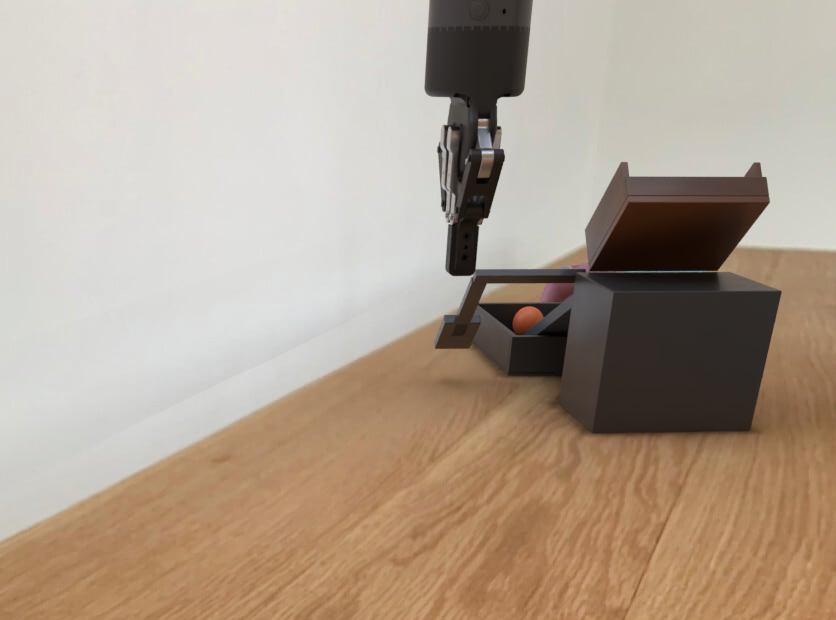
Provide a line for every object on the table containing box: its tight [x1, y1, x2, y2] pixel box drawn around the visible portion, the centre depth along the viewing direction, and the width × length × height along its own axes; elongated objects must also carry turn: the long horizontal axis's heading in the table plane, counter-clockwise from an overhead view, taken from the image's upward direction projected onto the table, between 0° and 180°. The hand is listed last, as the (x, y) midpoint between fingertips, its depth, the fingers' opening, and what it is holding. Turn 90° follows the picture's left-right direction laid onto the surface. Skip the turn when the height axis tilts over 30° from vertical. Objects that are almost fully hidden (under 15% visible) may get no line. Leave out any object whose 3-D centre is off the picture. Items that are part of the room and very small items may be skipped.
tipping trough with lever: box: [433, 161, 771, 350], centre depth 85 cm, size 19×20×4 cm
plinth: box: [558, 271, 783, 435], centre depth 82 cm, size 8×12×10 cm
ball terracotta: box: [513, 307, 544, 335], centre depth 107 cm, size 3×3×3 cm
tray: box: [472, 301, 568, 377], centre depth 103 cm, size 16×15×4 cm
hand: (459, 274), depth 91 cm, fingers closed
